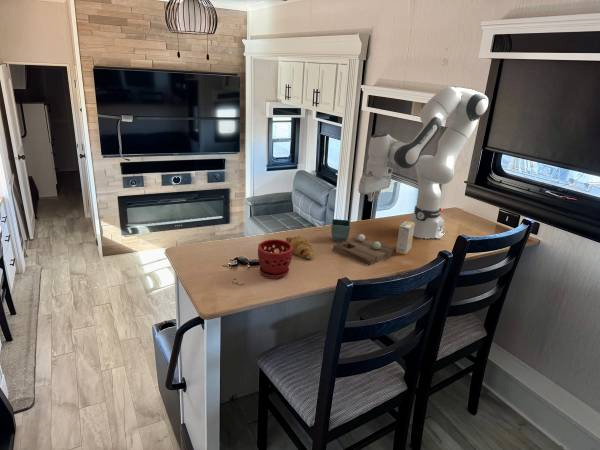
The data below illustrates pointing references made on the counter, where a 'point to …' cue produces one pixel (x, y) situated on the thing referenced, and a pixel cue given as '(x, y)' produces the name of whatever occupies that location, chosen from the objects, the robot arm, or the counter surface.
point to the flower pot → (340, 229)
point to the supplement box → (405, 237)
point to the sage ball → (377, 245)
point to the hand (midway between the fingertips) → (373, 200)
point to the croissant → (300, 247)
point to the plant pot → (274, 258)
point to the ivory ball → (361, 237)
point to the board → (362, 250)
